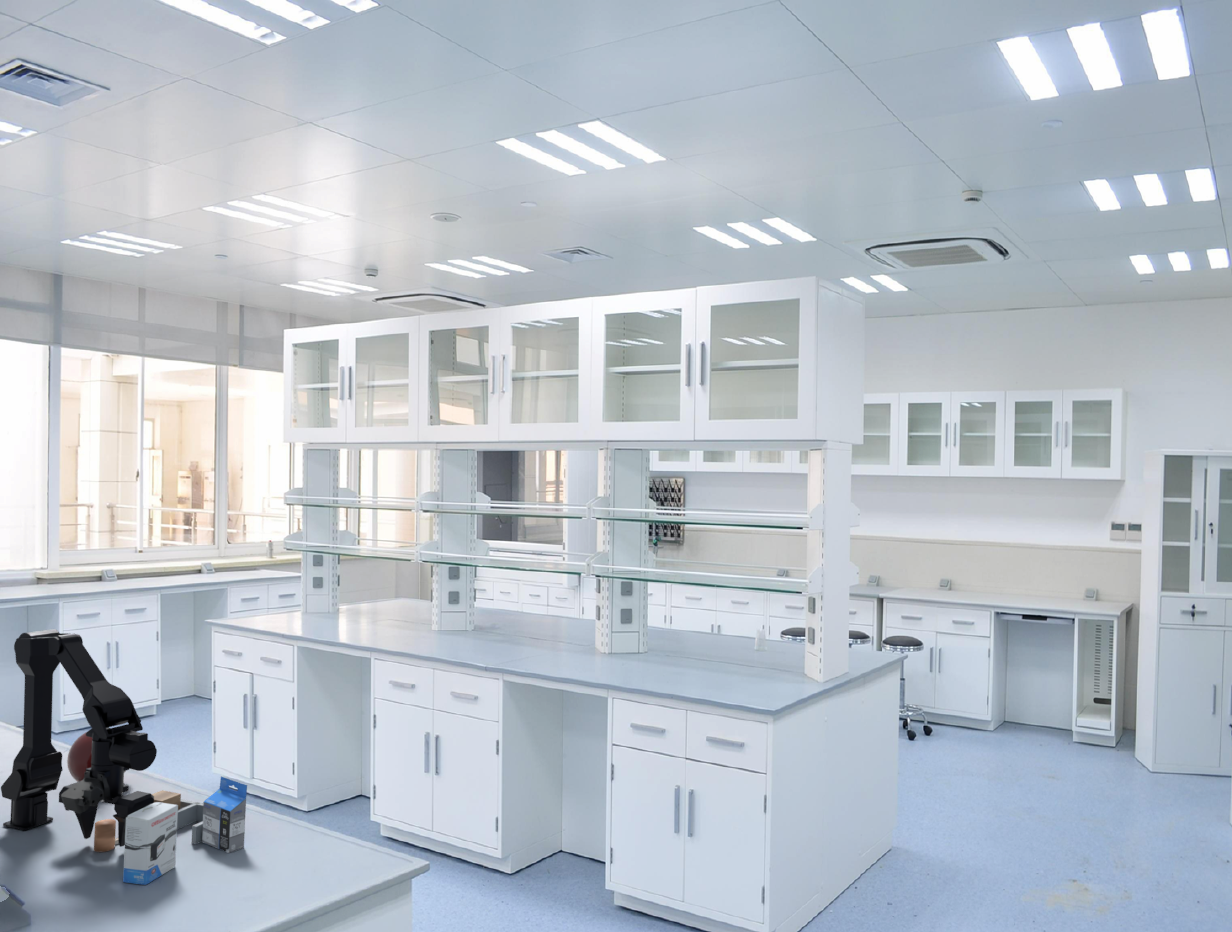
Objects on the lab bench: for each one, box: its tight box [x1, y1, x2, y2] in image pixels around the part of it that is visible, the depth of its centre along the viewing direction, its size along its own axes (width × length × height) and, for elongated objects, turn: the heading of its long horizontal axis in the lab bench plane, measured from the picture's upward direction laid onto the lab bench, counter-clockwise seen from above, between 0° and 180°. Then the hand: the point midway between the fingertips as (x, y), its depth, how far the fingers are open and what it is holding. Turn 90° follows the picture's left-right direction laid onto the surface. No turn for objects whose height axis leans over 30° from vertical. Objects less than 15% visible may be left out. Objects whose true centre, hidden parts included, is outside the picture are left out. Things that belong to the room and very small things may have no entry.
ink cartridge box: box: [201, 776, 248, 854], centre depth 186 cm, size 9×4×12 cm, turn 57°
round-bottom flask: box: [66, 730, 127, 782], centre depth 217 cm, size 13×13×20 cm
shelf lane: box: [177, 798, 203, 845], centre depth 194 cm, size 19×10×4 cm, turn 70°
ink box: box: [122, 802, 178, 886], centre depth 171 cm, size 8×5×12 cm, turn 168°
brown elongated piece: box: [93, 789, 182, 853], centre depth 189 cm, size 5×18×6 cm, turn 160°
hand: (104, 841), depth 182 cm, fingers open, 9 cm apart
